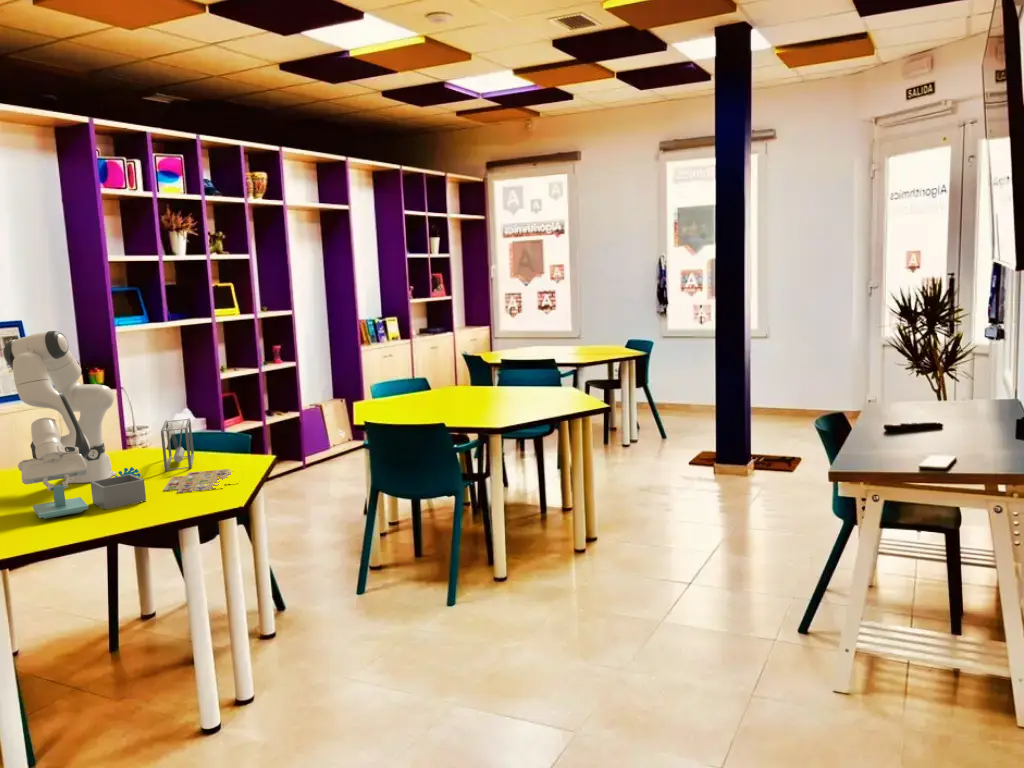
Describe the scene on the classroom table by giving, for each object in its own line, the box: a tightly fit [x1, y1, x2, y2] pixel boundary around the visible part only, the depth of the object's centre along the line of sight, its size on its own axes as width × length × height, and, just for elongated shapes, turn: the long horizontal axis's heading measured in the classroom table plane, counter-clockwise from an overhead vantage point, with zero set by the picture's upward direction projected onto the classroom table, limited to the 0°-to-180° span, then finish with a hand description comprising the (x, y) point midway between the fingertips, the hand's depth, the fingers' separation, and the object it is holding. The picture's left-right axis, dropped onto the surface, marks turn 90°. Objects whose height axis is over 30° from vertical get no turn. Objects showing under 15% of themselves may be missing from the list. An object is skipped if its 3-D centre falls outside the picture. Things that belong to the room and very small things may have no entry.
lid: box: [32, 483, 89, 520], centre depth 293 cm, size 15×15×9 cm
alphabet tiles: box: [162, 468, 235, 494], centre depth 332 cm, size 28×33×1 cm
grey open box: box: [90, 474, 147, 510], centre depth 306 cm, size 14×14×8 cm
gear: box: [114, 466, 144, 479], centre depth 328 cm, size 11×6×10 cm
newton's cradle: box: [160, 417, 195, 472], centre depth 367 cm, size 30×10×18 cm, turn 19°
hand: (58, 488), depth 292 cm, fingers closed on lid, 3 cm apart
